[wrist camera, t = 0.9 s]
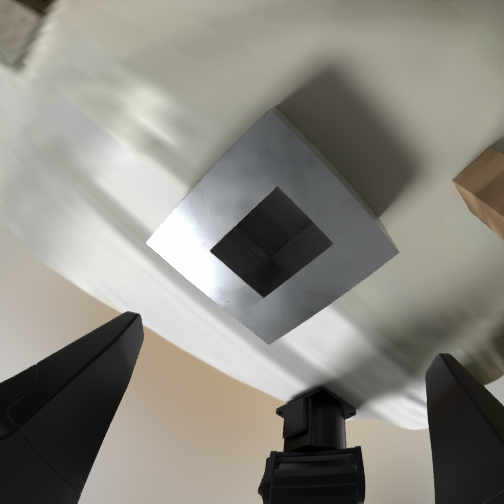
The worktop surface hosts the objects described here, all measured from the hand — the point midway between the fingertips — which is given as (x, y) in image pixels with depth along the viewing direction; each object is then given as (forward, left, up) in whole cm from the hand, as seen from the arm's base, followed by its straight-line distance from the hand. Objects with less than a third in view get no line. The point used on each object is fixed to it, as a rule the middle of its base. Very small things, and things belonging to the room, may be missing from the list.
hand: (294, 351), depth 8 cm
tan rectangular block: (-8, -11, -14) cm, 19 cm away
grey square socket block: (0, +2, -14) cm, 14 cm away
